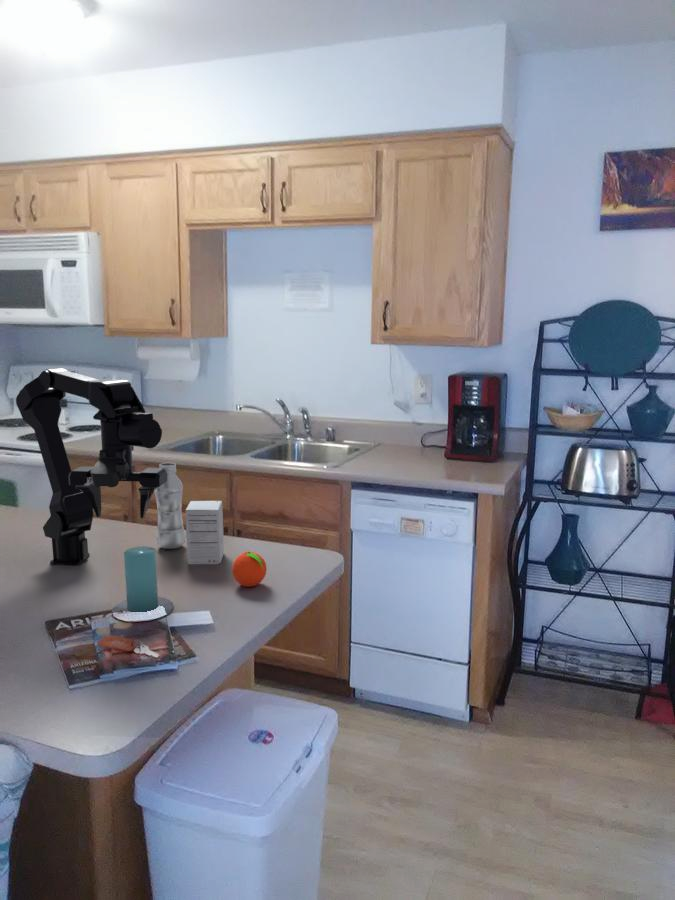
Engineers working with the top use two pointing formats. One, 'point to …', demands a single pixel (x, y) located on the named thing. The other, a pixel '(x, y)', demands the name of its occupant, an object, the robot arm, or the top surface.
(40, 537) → the top surface
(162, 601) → the coaster
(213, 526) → the supplement box
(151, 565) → the cylinder
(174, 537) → the plastic bottle
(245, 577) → the clementine
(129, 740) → the top surface
